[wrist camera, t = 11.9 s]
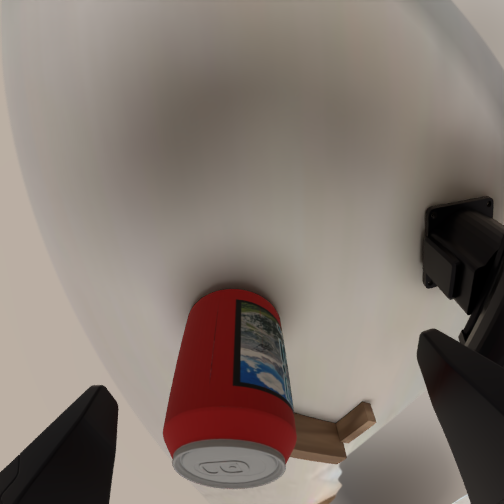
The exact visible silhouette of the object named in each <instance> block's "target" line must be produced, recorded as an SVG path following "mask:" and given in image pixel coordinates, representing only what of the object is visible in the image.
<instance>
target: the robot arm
mask: <svg viewBox="0 0 504 504" xmlns="http://www.w3.org/2000/svg"><path fill="white" fill-rule="evenodd" d="M487 203H488V205H487ZM493 204H494V203H493V199H492V198H490V197H488V196H485V197H480V198H475V199H469V200H464V201H459V202H453V203H448V204H443V205H438V206H432V207H430V208H428V209H427V211H426V234H425V239H424V252H423V271H424V277H423V284H424V285H425V286H426V288H428V289H429V288H433V287H437V286H438V287H439V288H440V290H441V291H442V292H443V293H444V294H445V295H446V297H447V298H449V299H450V300H452V299H454V300H455V301H456V302H457V303H458V304H459V305H460V307H461V308H462V309H463V310H464V311H465V313H466V314H467V315H471V316H470V318H469V320H468V322H467V324H466V326H465V328H464V330H462V331H461V333H460V335H459V336H458V338H459V341H460V342H458V341H456V340H454V339H453V338H451V337H449V336H447V335H446V334H444V333H442V332H440V331H439V330H437V329H429V330H426V331H423V332H421V334H420V336H419V343H418V349H417V360H418V364H419V366H420V369H421V372H422V375H423V378H424V381H425V384H426V387H427V390H428V393H429V397H430V400H431V402H432V406H433V408H434V410H435V413H436V415H437V417H438V420H439V422H440V424H441V426H442V428H443V431H444V433H445V436H446V438H447V441H448V443H449V446H450V448H451V450H452V453H453V455H454V458H455V461H456V463H457V466H458V469H459V471H460V474H461V477H462V479H463V482H464V485H465V488H466V490H467V493H468V496H469V499H470V502H471V504H504V225H502V224H500V223H499V222H497V221H496V220H494V219H493ZM433 212H434V215H433V216H432V217H431V215H432V213H433ZM430 280H431V281H430ZM429 281H430V282H429ZM428 282H429V283H428ZM117 421H118V404H117V402H116V400H115V399H114V398H113V396H112V395H111V394H110V393H109V391H108V390H107V388H106V387H105V386H103V385H93V386H91V387H90V388H89V389H87V390H86V391H85V392H84V393H83V394H82V395H81V396H80V397H79V398H78V399H77V400H76V401H75V402H74V403H73V404H71V405H70V406H69V407H68V408H67V409H66V410H65V411H64V412H63V413H62V414H61V415H60V416H59V417H58V418H57V419H56V420H55V421H54V422H53V423H51V424H50V425H49V427H47V428H46V429H45V430H44V431H43V432H42V433H41V434H40V435H39V436H38V437H37V438H36V439H35V440H34V441H33V442H32V443H31V444H30V445H29V446H27V447H26V449H24V450H23V451H22V452H21V453H20V455H18V456H17V457H16V458H15V459H14V460H13V461H12V462H11V463H10V464H9V465H8V466H7V467H6V468H4V469H3V470H2V471H1V472H0V504H109V499H110V491H111V483H112V475H113V467H114V461H115V453H116V439H117Z"/></svg>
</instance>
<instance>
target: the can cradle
mask: <svg viewBox="0 0 504 504" xmlns="http://www.w3.org/2000/svg"><path fill="white" fill-rule="evenodd" d="M294 418H295V426H296V434H297V441H296V445H295V447H294V449H293V451H292V453H291V455H290V457H293V458H299V459H304V460H310V461H317V462H324V463H331V464H338V463H340V462H341V461H343V460H344V459H346V458H347V457H346V452H345V448H344V444H343V442H344V443H349V442H351V441H352V440H354V439H355V438H356V437H358V436H359V435H360V434H362V433H363V432H365V431H366V430H367V429H369V428H370V427H371V426H372V425H374V424H375V423H376V419H375V416H374V413H373V411H372V408H371V405H370V404H369V403H365V402H362V403H360V404H359V405H358V406H357V407H356V408H355V409H353V410H352V411H351V412H350V413H348V414H347V415H346V416H345V417H343V418H342V419H341V420H340V421H338V422H337V423H336V424H335V423H331V422H327V421H322V420H319V419H315V418H311V417H307V416H303V415H300V414H296V413H294Z"/></svg>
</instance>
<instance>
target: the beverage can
mask: <svg viewBox="0 0 504 504" xmlns="http://www.w3.org/2000/svg"><path fill="white" fill-rule="evenodd" d="M163 437H164V441H165V443H166V445H167V448H168V450H169V452H170V454H171V457H172V459H173V461H172V464H173V467H174V469H175V470H176V472H177V473H179V475H181V476H182V477H184V478H186V479H187V480H190V481H192V482H194V483H197V484H200V485H204V486H208V487H214V488H222V489H245V488H253V487H258V486H262V485H266V484H269V483H271V482H273V481H275V480H277V479H278V478H280V477H281V476H282V475H283V474H284V472H285V469H286V463H287V461H288V459H289V457H290V455H291V453H292V451H293V449H294V447H295V445H296V441H297V434H296V426H295V418H294V409H293V401H292V394H291V387H290V380H289V373H288V366H287V359H286V352H285V346H284V340H283V334H282V328H281V322H280V318H279V315H278V313H277V311H276V310H275V308H274V307H273V306H272V304H271V303H270V302H268V301H267V300H266V299H265V298H263V297H261V296H260V295H258V294H255V293H253V292H250V291H246V290H240V289H225V290H219V291H215V292H212V293H210V294H208V295H206V296H204V297H203V298H201V299H200V300H199V301H198V302H197V303H196V304H195V305H194V306H193V308H192V309H191V311H190V313H189V316H188V319H187V323H186V327H185V331H184V335H183V339H182V343H181V347H180V351H179V356H178V360H177V364H176V369H175V373H174V378H173V383H172V387H171V392H170V397H169V402H168V407H167V412H166V418H165V423H164V429H163Z"/></svg>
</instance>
